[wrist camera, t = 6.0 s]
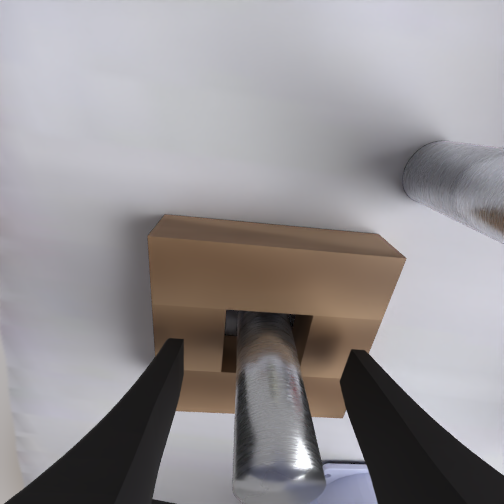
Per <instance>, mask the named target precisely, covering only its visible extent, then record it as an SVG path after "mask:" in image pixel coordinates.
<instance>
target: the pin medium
mask: <svg viewBox="0 0 504 504" xmlns="http://www.w3.org/2000/svg"><path fill="white" fill-rule="evenodd" d="M325 487H326V479H325V475H324V471H323V466H322V462H321V457H320V453H319V448H318V444H317V440H316V435H315V431H314V426H313V422H312V417H311V413H310V408H309V404H308V400H307V395H306V391H305V386H304V382H303V377H302V373H301V368H300V364H299V360H298V355H297V351H296V346H295V342H294V337H293V333H292V329H291V324H290V320H289V315H288V314H285V313H270V312H256V311H242V310H238V326H237V359H236V392H235V425H234V458H233V493H234V495H235V496H236V498H237V499H238V500H239V501H241V502H242V503H244V504H307V503H310V502H311V501H313V500H315V499H316V498H318V497H319V496H320V495H321V494H322V493H323V491H324V489H325Z"/></svg>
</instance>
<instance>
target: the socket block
mask: <svg viewBox="0 0 504 504" xmlns="http://www.w3.org/2000/svg"><path fill="white" fill-rule="evenodd" d="M147 237H148V252H149V268H150V283H151V299H152V314H153V330H154V345H155V356H156V355H157V354H158V352H159V351H160V349H161V348H162V346H163V345H164V343H165V341H166V340H167V339H168V338H177V339H184V376H183V381H182V386H181V392H180V397H179V401H178V404H177V408H176V411H186V412H210V413H233V414H235V392H236V359H237V336H225V335H224V333H225V321H226V309H227V310H242V311H256V312H270V313H285V314H296V316H295V320H294V325H293V329H292V333H293V337H294V342H295V346H296V351H297V355H298V360H299V364H300V368H301V373H302V377H303V382H304V386H305V391H306V395H307V400H308V404H309V408H310V413H311V417H327V418H343V416H344V414H345V411H346V407H345V403H344V399H343V395H342V391H341V386H340V379H341V376H342V373H343V370H344V368H345V365H346V362H347V359H348V356H349V354H350V351H351V349H357V350H365V351H366V352H367V353H368V354H369V351H370V349H371V346H372V344H373V341H374V339H375V336H376V334H377V331H378V329H379V326H380V324H381V321H382V319H383V316H384V314H385V311H386V309H387V306H388V304H389V301H390V299H391V296H392V294H393V291H394V289H395V286H396V284H397V281H398V279H399V276H400V274H401V271H402V269H403V266H404V264H405V261H406V259H407V258H405V257H404V256H403V255H402V254H401V253H400V252H399V251H397V250H396V249H395V248H394V247H393V246H392V245H390V244H389V243H388V242H387V241H386V240H385V239H384V238H382V237H381V236H380V235H379V234H371V233H360V232H349V231H339V230H328V229H317V228H306V227H295V226H285V225H274V224H263V223H252V222H241V221H230V220H220V219H209V218H198V217H187V216H176V215H166V214H165V215H164V216H163V217H162V219H161V220H160V221H159V222H158V224H157V225H156V226H155V227H154V229H153V230H152V231H151V232H150V234H149V235H148V236H147Z"/></svg>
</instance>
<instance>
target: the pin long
mask: <svg viewBox="0 0 504 504" xmlns="http://www.w3.org/2000/svg"><path fill="white" fill-rule="evenodd" d="M403 187H404V190H405V192H406V194H407V195H408V196H409V197H410V198H411V199H413V200H415V201H417V202H419V203H421V204H423V205H425V206H427V207H429V208H431V209H433V210H435V211H437V212H439V213H441V214H443V215H445V216H447V217H449V218H451V219H454V220H456V221H458V222H460V223H462V224H464V225H466V226H468V227H470V228H472V229H474V230H476V231H478V232H480V233H482V234H484V235H486V236H488V237H490V238H492V239H495V240H497V241H499V242H501V243H503V244H504V148H500V147H492V146H483V145H475V144H467V143H458V142H450V141H436V142H432V143H430V144H428V145H425V146H424V147H422V148H421V149H419V150H418V151H417V152H416V153H415V154H414V155H413V156H412V157H411V159H410V160H409V162H408V163H407V165H406V167H405V170H404V173H403Z"/></svg>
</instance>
